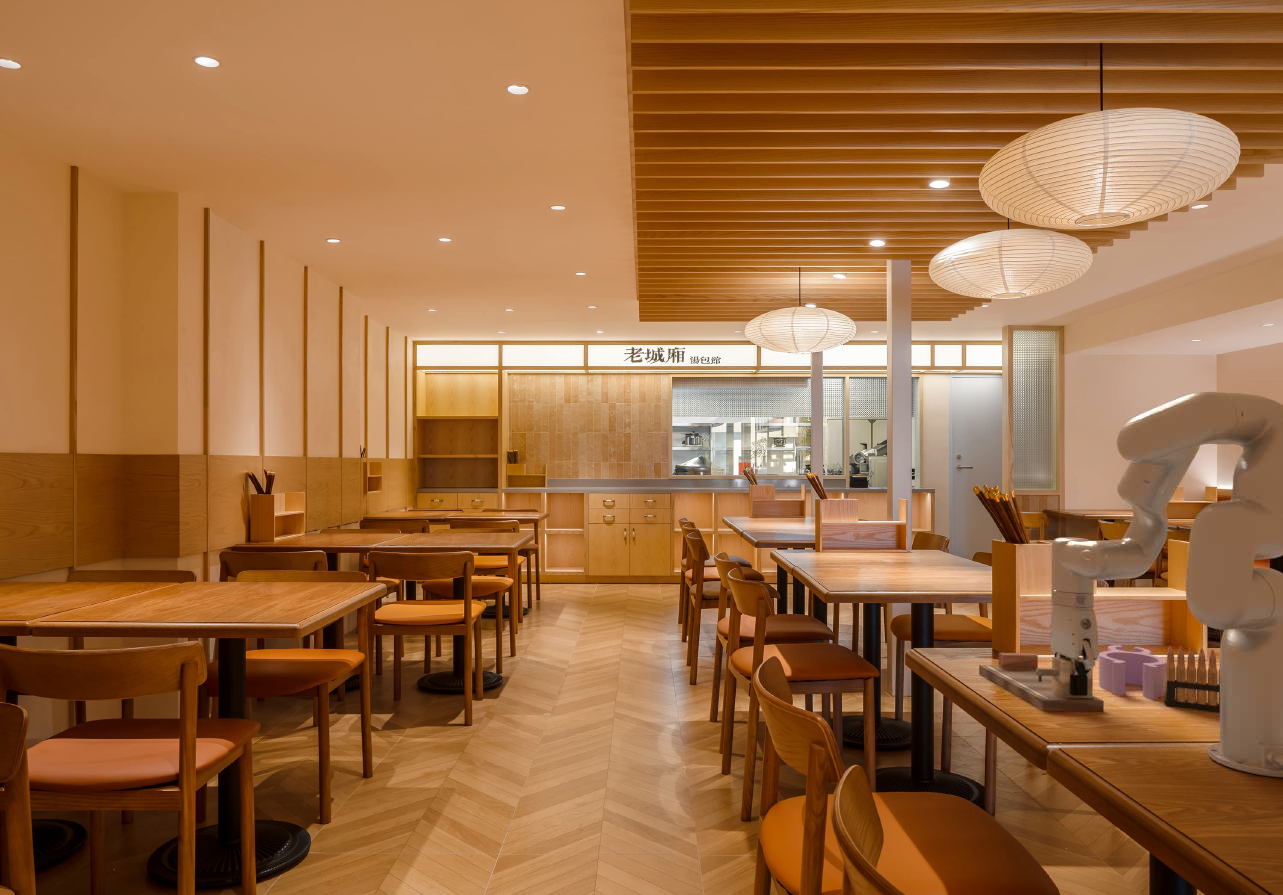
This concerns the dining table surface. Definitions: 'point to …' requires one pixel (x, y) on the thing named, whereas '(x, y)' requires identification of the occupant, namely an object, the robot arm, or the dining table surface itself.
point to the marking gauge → (1063, 677)
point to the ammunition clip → (1192, 682)
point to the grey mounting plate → (1033, 684)
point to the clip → (1132, 671)
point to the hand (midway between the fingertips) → (1072, 690)
